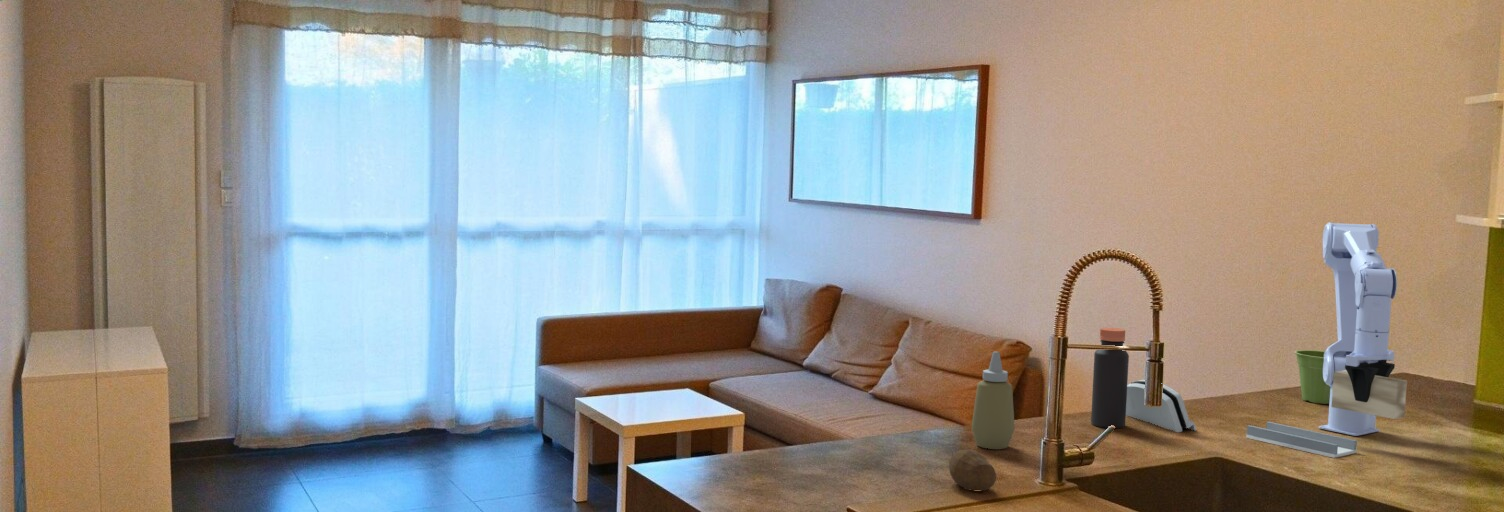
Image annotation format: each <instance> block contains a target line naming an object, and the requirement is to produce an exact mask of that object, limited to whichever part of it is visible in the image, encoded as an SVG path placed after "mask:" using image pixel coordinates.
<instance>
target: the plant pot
mask: <svg viewBox="0 0 1504 512" xmlns="http://www.w3.org/2000/svg"><path fill="white" fill-rule="evenodd" d="M1325 351H1326V350H1316V349H1315V350H1312V349H1311V350H1310V349H1301V350H1294V354H1295V355H1296V359H1297V365H1298V372H1299V382H1300V390H1301V399H1302V400H1303V401H1305V402H1306V401H1308V402H1310V403H1313V404H1321V405H1329V402H1330V388H1331V387H1330V386H1329V385H1327V384H1326V383H1325V382H1324V379H1323V363H1324V353H1325Z"/></svg>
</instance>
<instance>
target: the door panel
mask: <svg viewBox="0 0 1504 512" xmlns="http://www.w3.org/2000/svg"><path fill="white" fill-rule="evenodd" d="M1407 383H1408V380H1407V379H1400V378H1393V377H1390V376H1389V377H1382V376H1376V375H1375V377H1374V379H1373V382H1372V385H1371V390H1370V396H1369V399H1368V402H1361V401H1356V400H1355V397H1354V391H1353V387H1352V382H1351V379H1350V377H1349V374H1348V372H1347V371H1346V370H1343V371H1337V372H1334V377H1333V392H1332V406H1331V407H1334V408H1339V409H1345V410H1350V411H1355V412H1360V413H1365V414H1371V415H1376V417H1381V418H1388V419H1391V420H1395V419H1401V418H1405V413H1406V412H1405V411H1406V399H1407V386H1408V384H1407Z"/></svg>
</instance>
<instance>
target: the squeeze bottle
mask: <svg viewBox="0 0 1504 512" xmlns="http://www.w3.org/2000/svg"><path fill="white" fill-rule="evenodd" d="M1008 375H1009V373H1008V371H1007V370H1003V364H1002V360H1001V355H1000V351H993V352H992V355H991V359H990V361H989V366H988V369H983V370H982V380H980V381H979V382H977V386H976V391H975V392H976V393H975V398H974V399H975V400H974V406H973V414H972V421H971V430H972V433H973V437H974V440H975V444H976V446H978V447H980V448H983V449H987V448H988V450H1005V449H1007V448H1008V447H1009V445H1010V442H1011V440H1012V437H1013V434H1014V431H1015V411H1014V396H1013V395H1014V394H1013V392H1014V391H1013V385H1012V384H1011V382H1008V380H1009V379H1008V377H1009V376H1008Z"/></svg>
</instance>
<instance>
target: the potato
mask: <svg viewBox="0 0 1504 512" xmlns="http://www.w3.org/2000/svg"><path fill="white" fill-rule="evenodd" d="M948 462H949V463H948V467H949V468H948V470H949V474H950V476H951V479H952V480H954V483H956V484H957V486H960V487H961V488H963V487H964V488H963V489H965V488H966V489H965V490H967V489H971V490H984V491H986V490H989V489H990V488H992V487H993V486H994V485H995V483H996V481H997V474H996V470H995V468H994V467H993V465H992V464H990V462H989V461H988V460H987V458H986V456H985V455H983V453H981V452H979V451H977V450H974V449H961V450H958V451H956V452H955V453H954V454H953V455H952V456H951V458H950V460H949V461H948Z"/></svg>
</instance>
